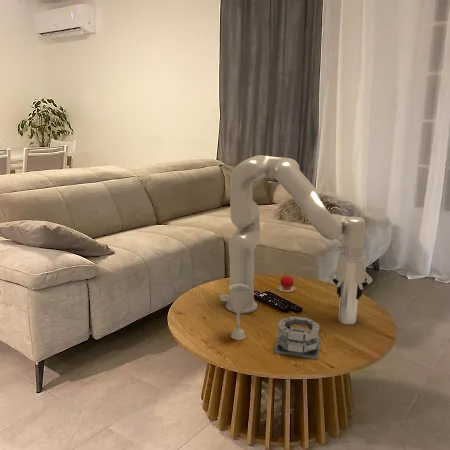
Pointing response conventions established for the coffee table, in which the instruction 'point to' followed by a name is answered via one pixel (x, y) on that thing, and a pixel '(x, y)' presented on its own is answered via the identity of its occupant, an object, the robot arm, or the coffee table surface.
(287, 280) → the apple
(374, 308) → the coffee table surface
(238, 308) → the chalice
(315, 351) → the collar stand
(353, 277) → the silver metal cylinder
